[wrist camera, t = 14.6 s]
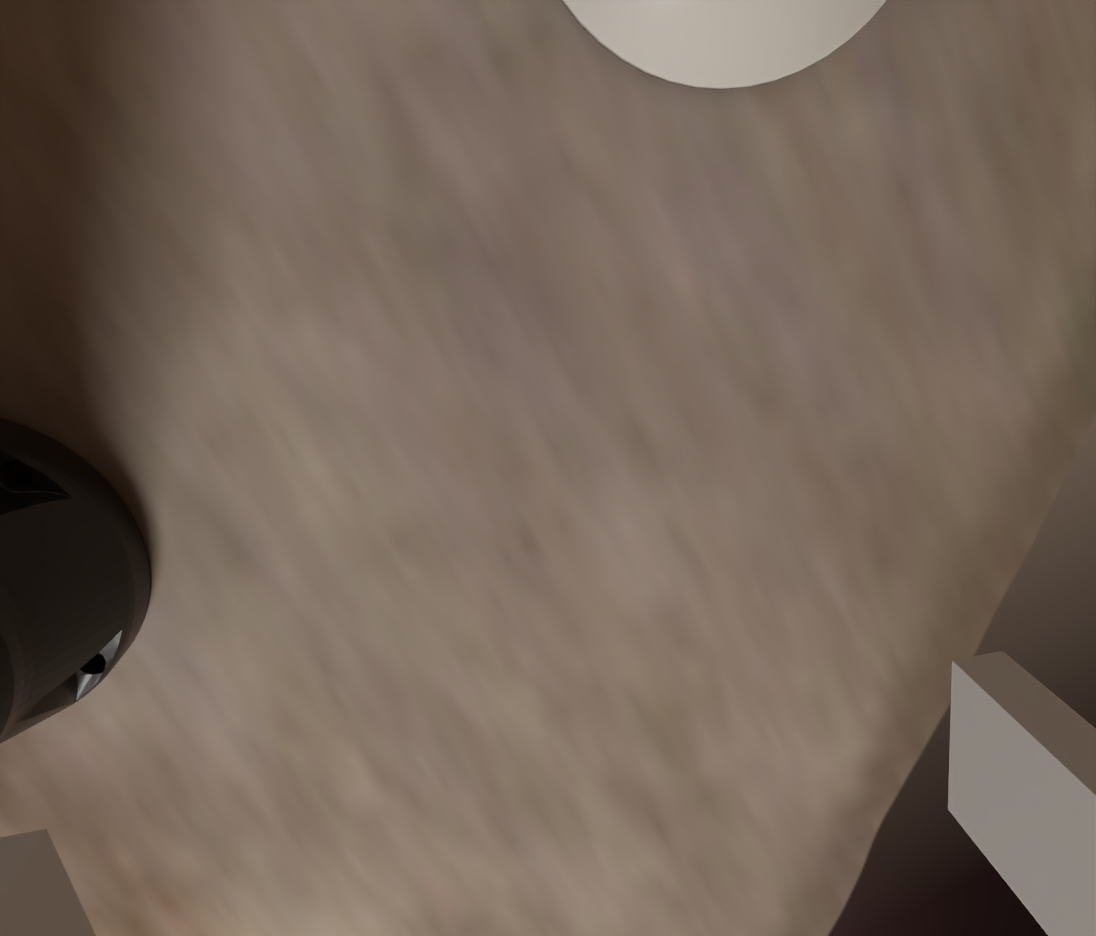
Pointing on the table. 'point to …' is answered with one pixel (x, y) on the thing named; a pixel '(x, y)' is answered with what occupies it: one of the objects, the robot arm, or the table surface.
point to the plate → (721, 36)
